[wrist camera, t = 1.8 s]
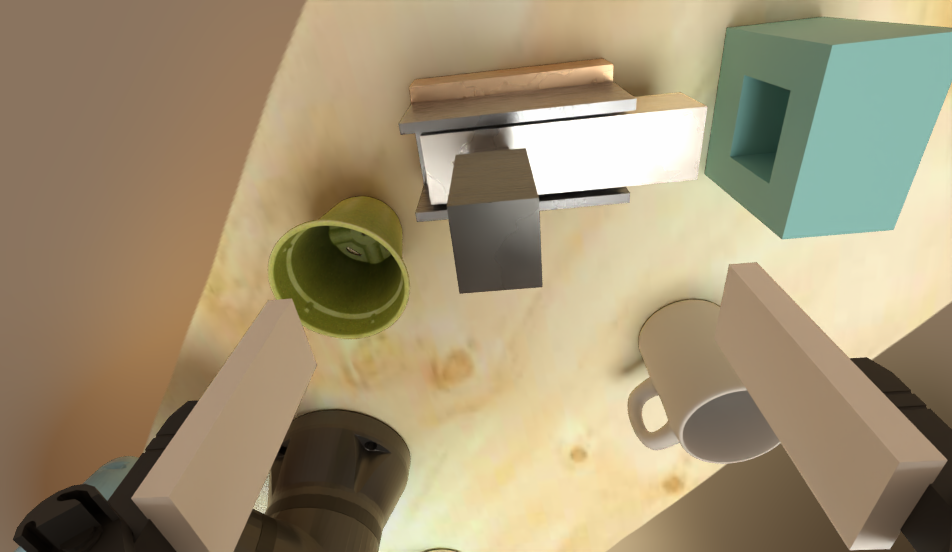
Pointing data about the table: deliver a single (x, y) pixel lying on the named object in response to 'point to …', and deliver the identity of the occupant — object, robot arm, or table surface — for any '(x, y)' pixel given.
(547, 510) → the table surface
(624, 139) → the grey sliding latch bolt
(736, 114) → the socket block
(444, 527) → the table surface
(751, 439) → the mug
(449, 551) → the beverage bottle
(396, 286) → the plant pot
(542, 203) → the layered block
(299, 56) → the table surface
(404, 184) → the table surface
